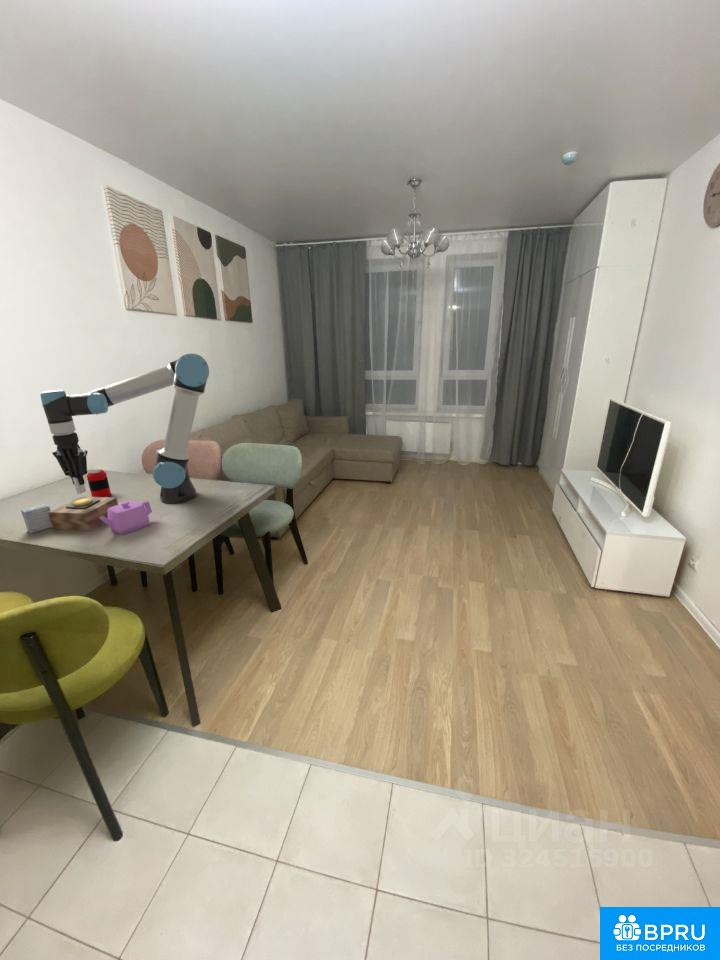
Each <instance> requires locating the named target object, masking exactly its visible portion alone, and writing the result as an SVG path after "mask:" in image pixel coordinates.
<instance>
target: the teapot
mask: <svg viewBox="0 0 720 960" xmlns="http://www.w3.org/2000/svg"><path fill="white" fill-rule="evenodd" d="M152 512H153V510H152V507H151V504H150V501H149V500H145V501H140V502H138V501H136V500H130V501H122V502H121V503H118V505H116V506H113V507H110V508H108V519H107V518H106V517H104V516H101V517H99V519H101V520H102V521H103V522H105V523H104V524H106V525H107V526H108V527H109V528H110V529H111V531H112V532H115V533H117V534H118V535H122V536H123V535H125V534H129V533H132V532H136V531H138V530H141V529H143V528H145V527H148V526H149V525H150V517H149V515H151V513H152Z"/></svg>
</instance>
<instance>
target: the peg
mask: <svg viewBox="0 0 720 960" xmlns="http://www.w3.org/2000/svg"><path fill="white" fill-rule="evenodd" d="M90 503H92V499H89V498H87V499H80V500H77V501H75V502H74V506H85V505H87V504H90Z"/></svg>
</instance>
